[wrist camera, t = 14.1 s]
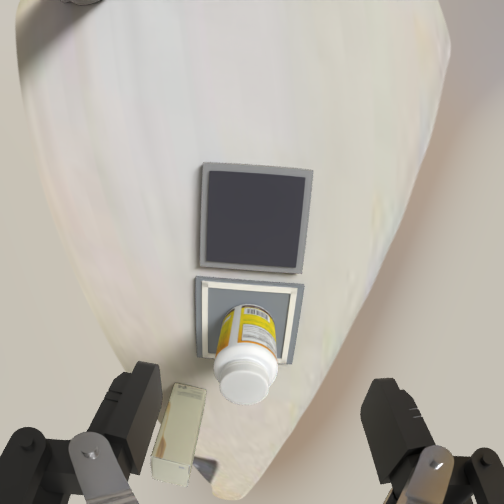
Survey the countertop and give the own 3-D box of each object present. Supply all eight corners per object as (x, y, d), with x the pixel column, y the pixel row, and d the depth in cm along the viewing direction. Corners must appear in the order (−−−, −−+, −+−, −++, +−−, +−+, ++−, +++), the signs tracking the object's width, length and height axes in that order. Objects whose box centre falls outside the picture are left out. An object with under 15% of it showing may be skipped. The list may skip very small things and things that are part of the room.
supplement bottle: (232, 349, 34) (222, 415, 24) (215, 308, 32) (198, 369, 22) (280, 339, 33) (285, 405, 23) (267, 295, 32) (269, 356, 22)
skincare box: (174, 381, 37) (149, 454, 25) (207, 388, 37) (191, 464, 25) (172, 411, 38) (150, 480, 27) (202, 418, 39) (187, 489, 27)
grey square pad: (197, 353, 35) (196, 357, 34) (196, 276, 32) (195, 278, 31) (291, 361, 35) (291, 365, 34) (303, 284, 32) (304, 287, 31)
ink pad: (201, 262, 31) (199, 267, 30) (205, 162, 28) (202, 162, 27) (300, 270, 31) (302, 274, 30) (311, 169, 28) (313, 170, 27)
